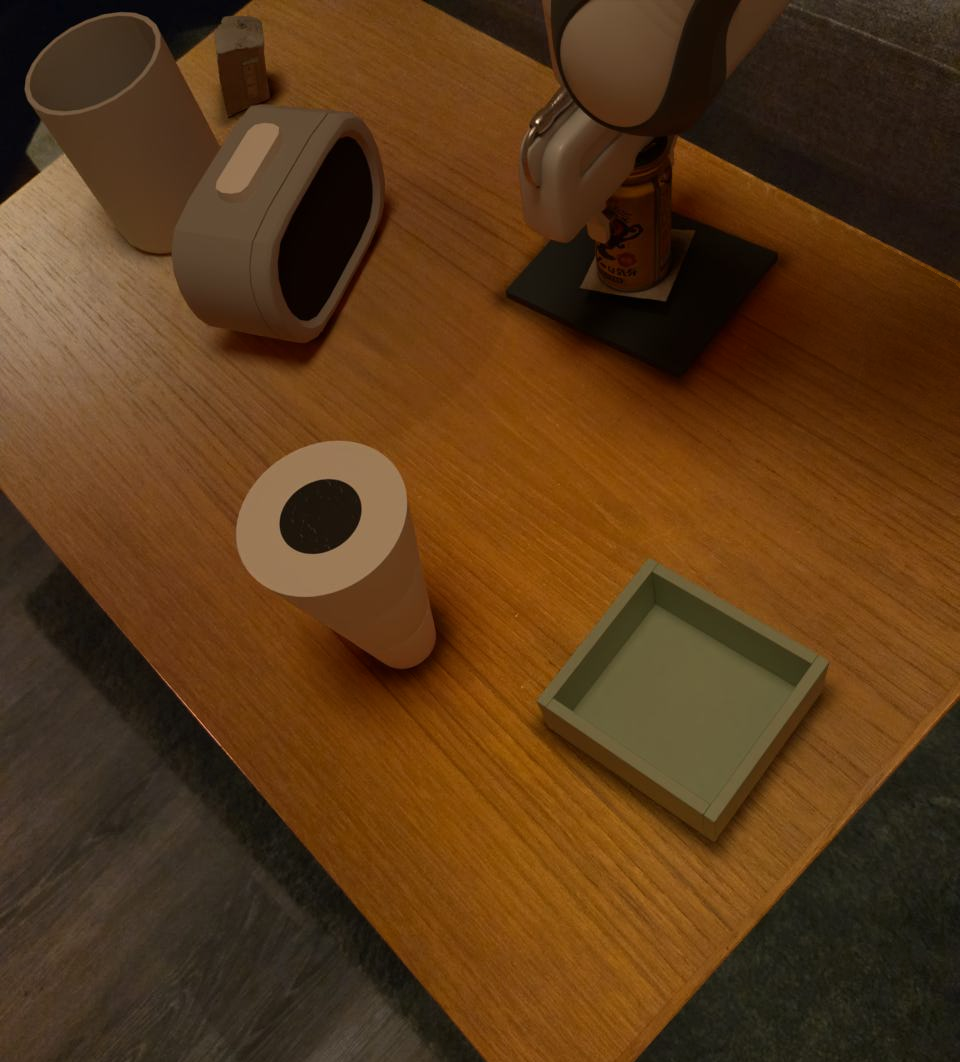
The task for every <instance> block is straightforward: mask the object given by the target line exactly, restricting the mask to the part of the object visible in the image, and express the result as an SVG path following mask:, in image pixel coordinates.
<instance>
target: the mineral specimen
mask: <svg viewBox="0 0 960 1062" xmlns="http://www.w3.org/2000/svg"><path fill="white" fill-rule="evenodd" d="M213 37H214V45H215V54H216V64H217V72H218V79H219V85H220V87H221V94H222V98H223V99H222V100H223V105H224V108H225V113H226V116H227V117H231V116H233V115H235V114H237V113H239V112H242V111H245V110H248V109H249V108H250V106H255V105H259V104H263V102H266V101H268V100H270V97H271V96H270V95H271V94H270V88H269V80H268V73H267V66H266V56H265V55H266V54H265V36H264V30H263V22H262V20H261V19H260V18H257V17H253V16H251V15H227V16H223V17H222V19H221V23H220V24H219V25H218V26H217V28H215V29H214V33H213Z"/></svg>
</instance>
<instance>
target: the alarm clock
mask: <svg viewBox="0 0 960 1062" xmlns="http://www.w3.org/2000/svg"><path fill="white" fill-rule="evenodd" d="M220 147H221V148H220V150H219V151H218V153H217V155H216V156H215V158H214V159H213V161H212V163H211V164H210V166H209V167H208V169H207V171H206V172H205V174H204V176H203V177H202V179H201V180H200V182H199V184H198V185H197V187H196V188H195V190H194V192H193V193H192V195H191V196H190V198H189V200H188V202H187V204H186V206H185V208H184V210H183V212H182V214H181V217H180V219H179V221H178V223H177V225H176V227H175V229H174V235H173V244H172V253H171V262H172V270H173V275H174V278H175V281H176V284H177V287H178V289H179V292H180V294H181V296H182V297H183V300H184V301H185V303H186V305H187V307H188V308H189V310H190V311H191V312H192V313H193V314H194V315H195V317H196V318H197V319H199V320H200V321H201V322H203V323H204V324H205V325H207V327H212V328H218V329H222V330H227V331H228V330H229V331H233V332H239V333H244V334H249V335H255V336H260V337H265V338H270V339H271V338H272V339H276V340H281V341H286V342H293V343H300V344H305V343H308V342H310V341H312V340H314V339H316V338H317V337H319V336H320V334H322V333H323V331H324V330H325V328H326V326H327V324H328V322H329V321H330V319H331V318H332V316H333V315H334V313H335V311H336V309H337V307H338V305H339V304H340V302H341V299H342V298H343V296H344V294H345V292H346V291H347V288H348V287H349V285H350V283H351V281H352V280H353V277H354V275H355V274H356V272H357V269H358V268H359V266H360V264H361V262H362V260H363V258H364V257H365V254H366V253H367V251H368V249H369V248H370V246H371V243H372V241H373V239H374V236H375V234H376V231H377V229H378V227H379V225H380V222H381V220H382V218H383V213H384V206H385V199H386V179H385V173H384V167H383V160H382V157H381V154H380V150H379V146H378V144H377V141H376V140H375V137H374V136H373V133H372V131H371V128H369V126H368V125H367V124H366V122H365V121H364V119H363V118H362V117H360V116H358V115H357V114H355V113H352V112H350V111H341V110H331V109H320V108H310V107H300V106H299V107H298V106H297V107H296V106H287V105H276V104H264V103H260V104H256V105H254V106H250V107H249V108H248V109H246V111H245V113H243V115H241V117H240V119H239V120H237V122H236V123H235V125H234V126H233V127H232V128H231V130H230V132H229V133H228V135H227V136H226V138H225V140H224V141H223V143H222V145H221V146H220Z"/></svg>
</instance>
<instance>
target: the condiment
mask: <svg viewBox="0 0 960 1062" xmlns="http://www.w3.org/2000/svg"><path fill="white" fill-rule="evenodd" d="M667 138H668V136H662V137H655V138H654V139H653V140H652V141H651V142H650V143H649V144H648V145H647V146H646V147H644V148H643V149H642V150H641V151H640V152H639V153H638V155H637V157H636V159H635V165H634V170H633V172H632V173H631V174H630V175H629V176H628V177H627V178H626V179H625V181H624V182H623V183H622V184H621V185H620V186H619V187H618V189H617V190H616V191H615V192H614V193H613V194H612V195H611V196H610V198H609V199H608V200H607V201H606V208H605V209H604V210H605V212H612V213H614V214H616V217H617V223H616V225H617V226H618V229H617V230H616V232H615V233H614V234H613V235H612V236H611V238H610V239H609V240H608V241H607V243H605V244H603V243H601V242H598V241H596V240H595V251H596V252H595V253H596V256H595V258H594V260H593V262H592V264H591V266H590V268H589V271H588V273H587V275H586V276H585V279H584V281H583V283H582V285H581V286H580V288H583V289H589V290H594V291H600V292H604V293H610V294H615V295H622V296H629V297H636V298H644V299H646V298H648V299H654V300H660V301H665V302H666V300H667V297H668V295H669V293H670V291H671V288H672V286H673V283H674V281H675V279H676V277H677V274H678V272H679V269H680V267H681V265H682V262H683V259H684V257H685V255H686V252H687V250H688V248H689V245H690V243H691V240H692V237H693V235H694V233H695V230H678V229H671V211H672V202H673V201H672V200H673V199H672V196H673V167H672V164H671V162H670V160H669V157H668V148H667V142H668V139H667Z"/></svg>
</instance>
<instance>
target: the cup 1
mask: <svg viewBox="0 0 960 1062" xmlns="http://www.w3.org/2000/svg"><path fill="white" fill-rule="evenodd" d="M24 92H25V97H26V99H27V102H28V103H29V105H30V106H31V107H32V109H33V110H34V112H35V113H36V114H37V116H38V118H39V119H40V121H42V123H43V124H44V126H45V127H46V128H47V131H48V132H49V134H51V137H52V138H53V139H54V140H55V142H56V143H57V145H58V146H59V147H60V149H61V150H62V152H63V154H64V155H65V156H66V158H67V159H68V161H69V162H70V163H71V165H72V166H73V168H74V169H75V170H76V173H77V174H78V176H80V178H81V179H82V181H83V182H84V184H85V185H86V186H87V188H88V189H89V190H90V193H92V195H93V197H94V198H95V199H96V201H97V202H98V204H99V205H100V206H101V208H102V209H103V211H104V212H105V214H106V215H107V217H108V218H109V219H110V221H111V222H112V224H113V225H114V227H115V228H116V229H117V230H118V232H119V233H120V234H121V236H122V237H123V238H124V239H125V240H126V241H127V242H128V243H129V244H130V245H131V246H133V247H135V248H137V249H139V250H141V251H143V252H147V253H151V254H157V255H158V254H159V255H162V254H164V255H165V254H172V244H173V235H174V229H175V227H176V225H177V223H178V221H179V219H180V217H181V214H182V212H183V210H184V208H185V206H186V204H187V202H188V200H189V198H190V196H191V195H192V193H193V192H194V190H195V188H196V187H197V185H198V184H199V182H200V180H201V179H202V177H203V176H204V174H205V172H206V171H207V169H208V167H209V166H210V164H211V163H212V161H213V159H214V158H215V156H216V155H217V153H218V151H219V150H220V148H221V147H222V146H221V145H220V144H219V141H218V139H217V137H216V135H215V134H214V132H213V130H212V128H211V127H210V124H209V123H208V121H207V120H208V119H207V118H206V117H205V115H204V113H203V111H202V109H201V107H200V105H199V104H198V100H197V99H196V98H195V96H194V94H193V92H192V90H191V88H190V86H189V84H188V82H187V80H186V79H185V77H184V75H183V72H182V71H181V69H180V67H179V65H178V63H177V61H176V60H175V58H174V56H173V54H172V52H171V50H170V48H169V46H168V45H167V42H166V41H165V39H164V37H163V34H162V33H161V31H160V29H159V27H158V26H157V24H156V23H155V22H154V21H153V20H151V19H150V18H149V17H148V16H145V15H142V14H139V13H137V12H128V11H127V12H124V11H119V12H112V13H104V14H100V15H98V16H95V17H92V18H89V19H86V20H83V21H81V22H80V23H78V24H76V25H74V26H71V27H69V28H68V29H67V30H65V31H64V32H62V33H61V34H59V35H58V36H56V37H55V38H54V39H53V40H52V41H51V42H50V43H48V45H47V46H45V48H44V47H43V49H42V50H41V51H40V52H39V54H38V55H37V56H36V58H35V59H34V61H32V63H31V65H30V67H29V70H28V72H27V74H26V76H25V84H24Z"/></svg>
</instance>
